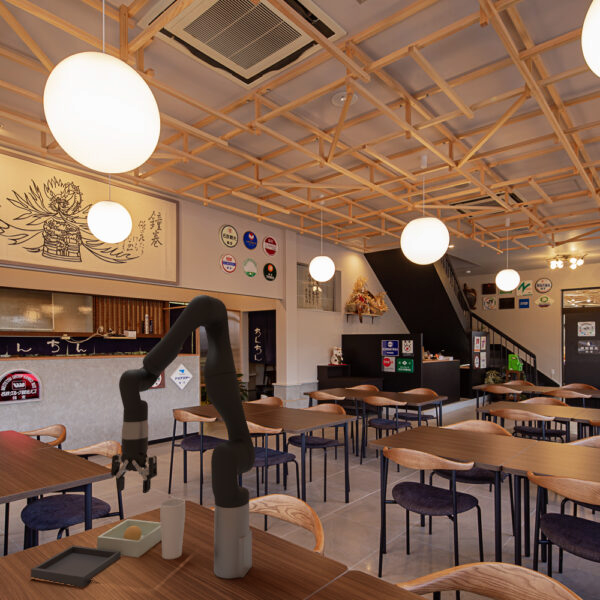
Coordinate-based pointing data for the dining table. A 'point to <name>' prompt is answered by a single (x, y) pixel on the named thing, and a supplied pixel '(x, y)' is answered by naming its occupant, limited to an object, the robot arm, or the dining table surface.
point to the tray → (75, 565)
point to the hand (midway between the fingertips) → (133, 491)
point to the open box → (130, 547)
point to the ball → (133, 533)
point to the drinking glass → (172, 527)
